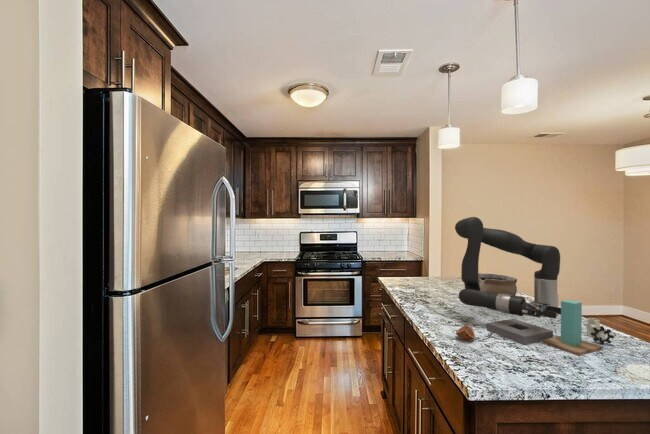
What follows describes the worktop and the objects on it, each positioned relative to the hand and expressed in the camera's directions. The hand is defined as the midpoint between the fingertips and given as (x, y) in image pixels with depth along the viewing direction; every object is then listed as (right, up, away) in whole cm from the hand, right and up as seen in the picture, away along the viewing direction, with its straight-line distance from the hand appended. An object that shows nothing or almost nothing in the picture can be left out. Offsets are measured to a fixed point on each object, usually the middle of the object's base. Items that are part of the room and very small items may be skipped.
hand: (559, 313), depth 117 cm
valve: (+18, -11, +4) cm, 22 cm away
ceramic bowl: (+5, -11, +54) cm, 56 cm away
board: (+2, -11, -3) cm, 12 cm away
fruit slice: (-34, -11, +3) cm, 35 cm away
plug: (+2, -10, -3) cm, 11 cm away
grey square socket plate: (-10, -11, +8) cm, 17 cm away
